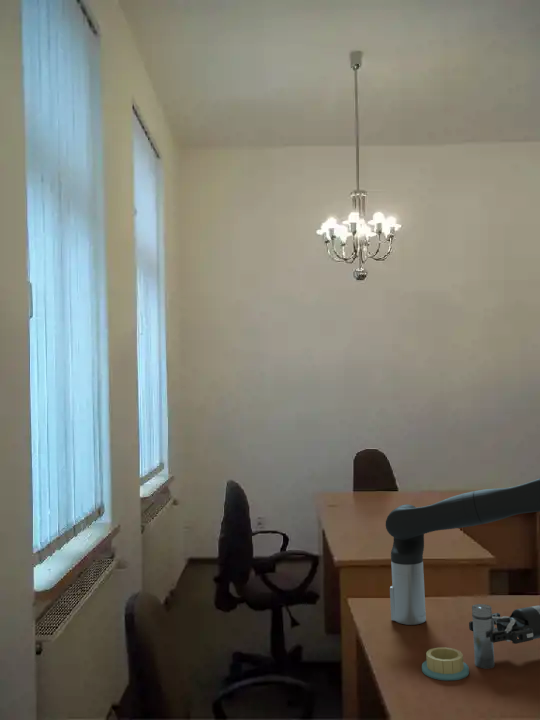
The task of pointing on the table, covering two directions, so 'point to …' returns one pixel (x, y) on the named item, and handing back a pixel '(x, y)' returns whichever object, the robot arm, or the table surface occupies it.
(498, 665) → the table surface
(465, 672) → the ring collar
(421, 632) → the table surface
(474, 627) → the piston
